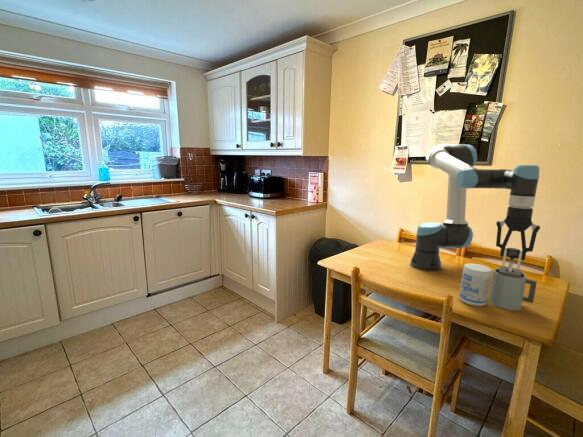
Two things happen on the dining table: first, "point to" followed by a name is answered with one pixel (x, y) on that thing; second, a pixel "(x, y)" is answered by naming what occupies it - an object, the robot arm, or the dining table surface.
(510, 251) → the plunger
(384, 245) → the dining table surface
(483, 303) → the supplement tub
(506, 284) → the press carafe
